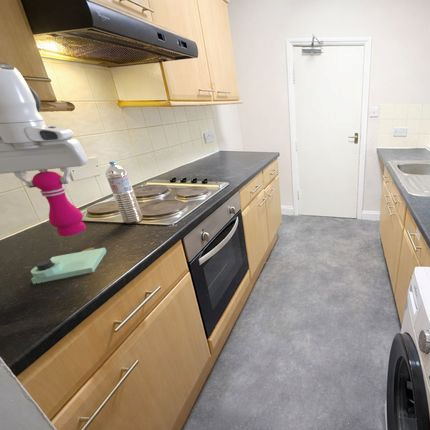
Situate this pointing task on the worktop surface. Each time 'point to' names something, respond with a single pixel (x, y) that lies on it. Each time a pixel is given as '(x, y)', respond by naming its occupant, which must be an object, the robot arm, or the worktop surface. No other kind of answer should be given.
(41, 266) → the tare button
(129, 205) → the water bottle
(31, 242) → the worktop surface
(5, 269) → the worktop surface
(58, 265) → the scale
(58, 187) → the pepper mill
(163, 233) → the worktop surface
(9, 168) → the robot arm
